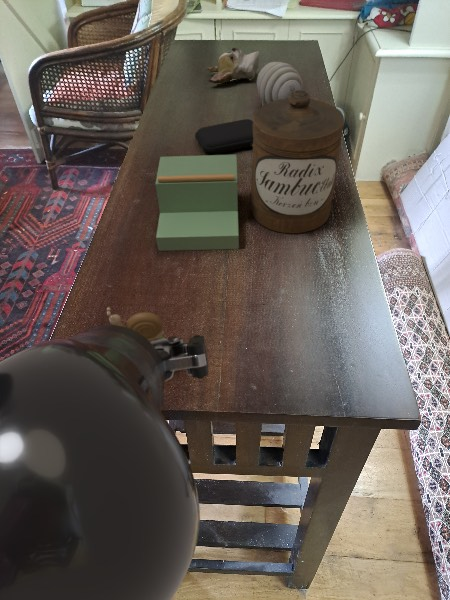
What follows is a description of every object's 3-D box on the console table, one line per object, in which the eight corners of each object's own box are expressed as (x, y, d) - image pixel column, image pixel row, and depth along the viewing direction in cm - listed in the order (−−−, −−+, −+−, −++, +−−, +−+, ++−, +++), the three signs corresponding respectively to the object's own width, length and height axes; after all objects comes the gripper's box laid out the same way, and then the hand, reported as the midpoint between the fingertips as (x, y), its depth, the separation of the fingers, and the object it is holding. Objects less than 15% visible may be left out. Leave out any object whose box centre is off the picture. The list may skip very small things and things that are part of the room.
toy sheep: (276, 94, 122) (279, 49, 114) (316, 118, 112) (322, 70, 104) (243, 104, 119) (243, 58, 111) (281, 129, 108) (284, 81, 100)
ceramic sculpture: (262, 51, 119) (205, 58, 119) (263, 85, 126) (209, 92, 126) (256, 38, 127) (203, 45, 127) (257, 71, 133) (206, 77, 133)
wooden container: (252, 235, 82) (254, 114, 66) (250, 188, 92) (251, 74, 76) (335, 233, 81) (358, 112, 65) (324, 187, 91) (341, 72, 75)
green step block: (158, 251, 80) (149, 202, 72) (166, 198, 90) (159, 151, 83) (238, 249, 79) (238, 200, 72) (237, 196, 90) (236, 149, 83)
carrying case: (207, 161, 100) (269, 148, 103) (206, 148, 97) (270, 135, 100) (193, 139, 106) (251, 127, 110) (192, 126, 104) (252, 115, 107)
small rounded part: (124, 352, 65) (105, 294, 56) (169, 345, 65) (158, 286, 56) (125, 385, 61) (105, 327, 52) (173, 377, 62) (161, 318, 53)
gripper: (207, 312, 28) (197, 304, 44) (-35, 349, 26) (45, 327, 43) (225, 433, 28) (208, 381, 44) (-14, 476, 27) (58, 406, 43)
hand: (128, 354), depth 43 cm, fingers open, 8 cm apart
